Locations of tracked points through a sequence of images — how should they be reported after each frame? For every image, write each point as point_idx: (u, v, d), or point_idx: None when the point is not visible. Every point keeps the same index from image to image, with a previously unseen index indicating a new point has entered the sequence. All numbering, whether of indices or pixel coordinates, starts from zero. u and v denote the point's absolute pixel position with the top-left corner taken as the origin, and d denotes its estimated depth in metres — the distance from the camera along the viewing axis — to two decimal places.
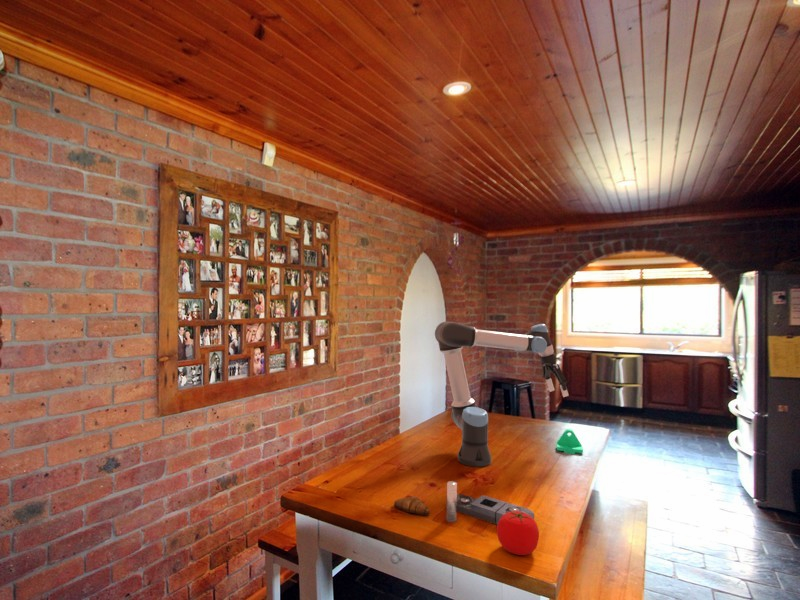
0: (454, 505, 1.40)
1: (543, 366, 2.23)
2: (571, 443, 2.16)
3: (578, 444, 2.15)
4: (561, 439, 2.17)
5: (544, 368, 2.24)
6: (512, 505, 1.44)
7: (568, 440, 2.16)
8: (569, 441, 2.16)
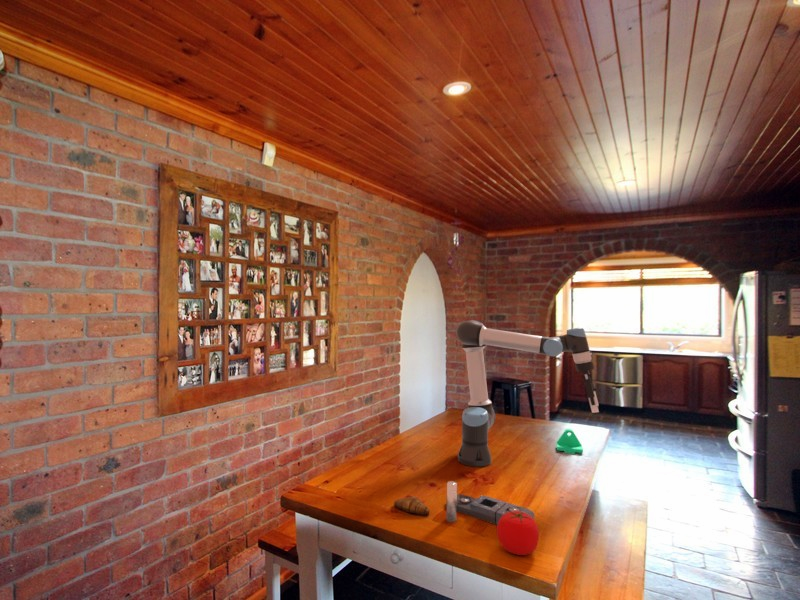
0: (454, 505, 1.40)
1: None
2: (571, 443, 2.16)
3: (578, 444, 2.15)
4: (561, 439, 2.18)
5: None
6: (512, 505, 1.44)
7: (568, 440, 2.17)
8: (568, 441, 2.17)
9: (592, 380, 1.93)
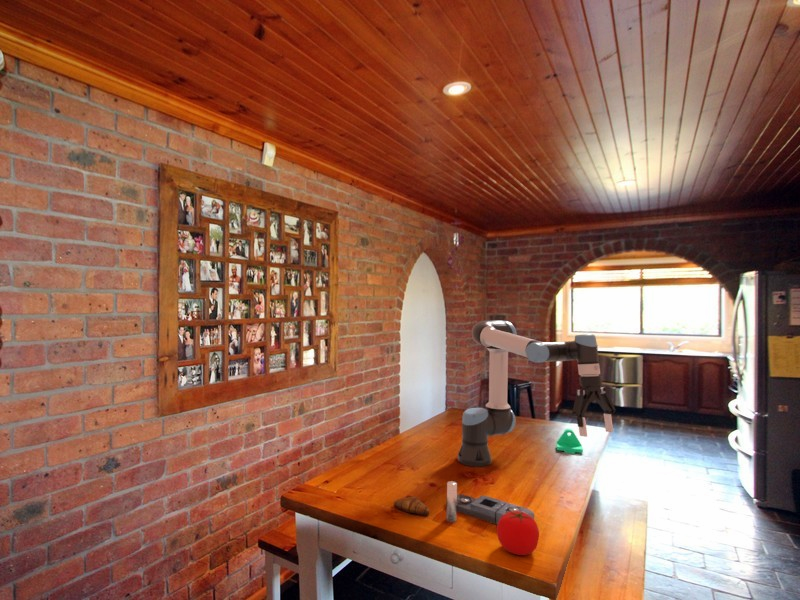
0: (454, 505, 1.40)
1: (600, 393, 1.63)
2: (571, 443, 2.16)
3: (578, 444, 2.15)
4: (561, 439, 2.18)
5: (603, 397, 1.63)
6: (512, 505, 1.44)
7: (568, 440, 2.17)
8: (568, 441, 2.17)
9: (601, 400, 1.59)
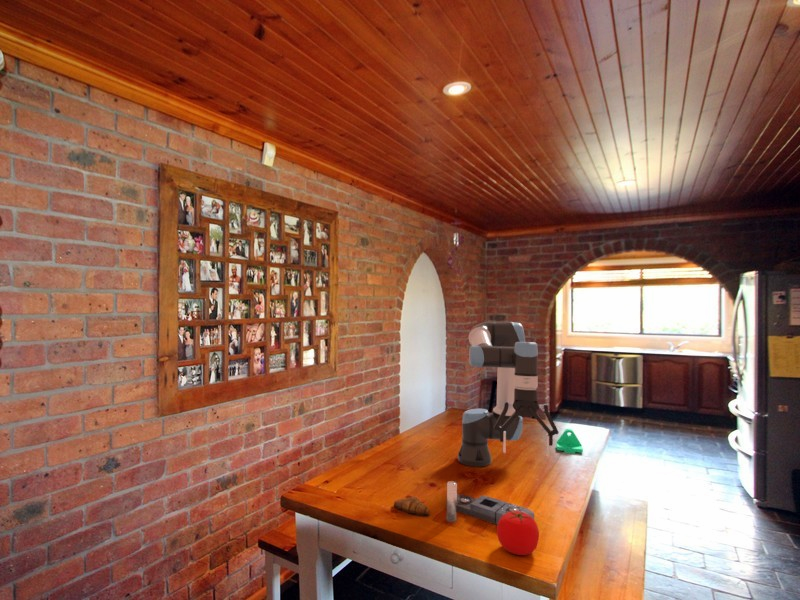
0: (454, 505, 1.40)
1: None
2: (571, 443, 2.17)
3: (578, 444, 2.16)
4: (561, 439, 2.18)
5: (546, 415, 1.41)
6: (512, 505, 1.44)
7: (568, 440, 2.17)
8: (568, 441, 2.17)
9: None
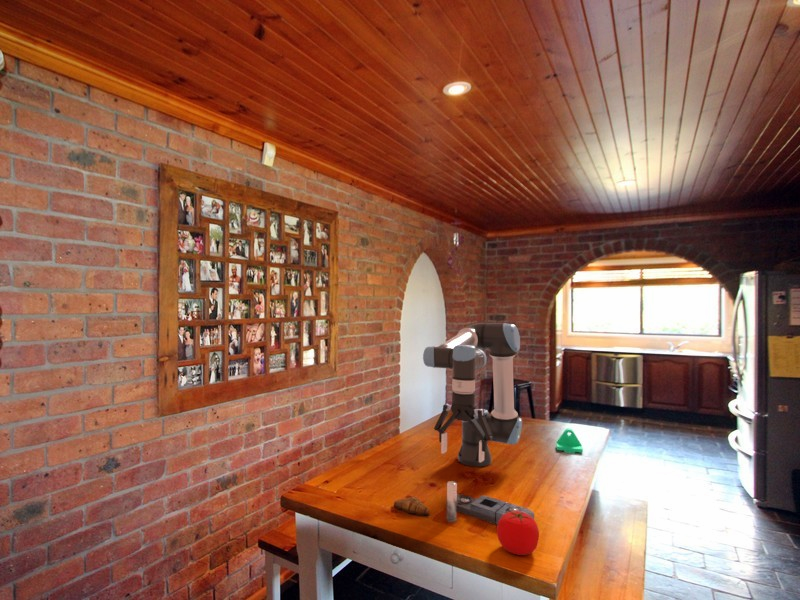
0: (454, 505, 1.40)
1: None
2: (571, 443, 2.17)
3: (578, 444, 2.16)
4: (561, 439, 2.18)
5: None
6: (512, 505, 1.44)
7: (568, 440, 2.17)
8: (568, 441, 2.17)
9: (468, 422, 1.39)
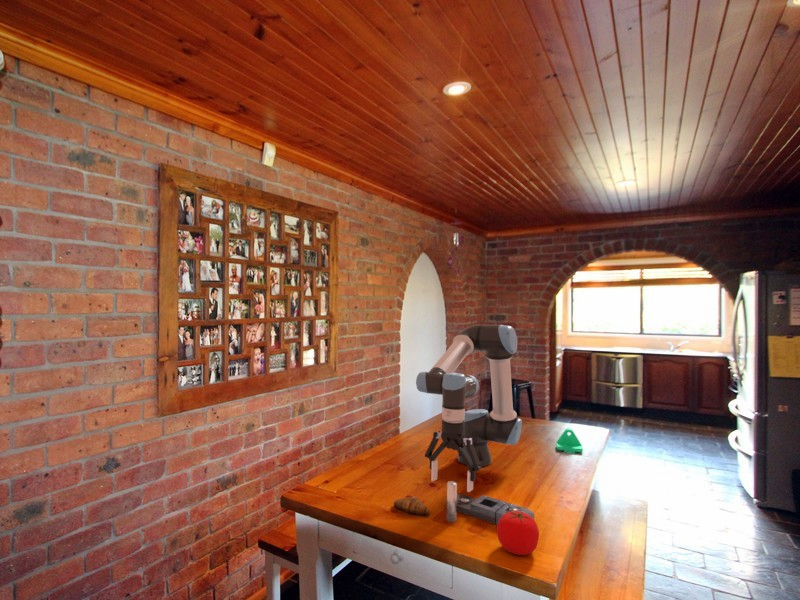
0: (454, 505, 1.40)
1: None
2: (571, 442, 2.17)
3: (578, 443, 2.16)
4: (561, 438, 2.18)
5: None
6: (512, 505, 1.44)
7: (568, 439, 2.17)
8: (568, 440, 2.17)
9: None
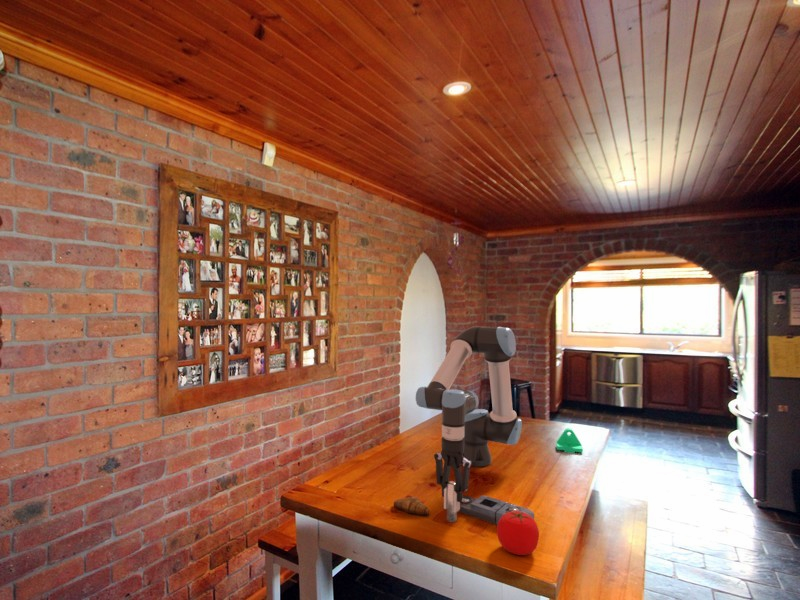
0: None
1: None
2: (571, 442, 2.17)
3: (578, 443, 2.16)
4: (561, 438, 2.19)
5: None
6: (512, 505, 1.44)
7: (568, 439, 2.18)
8: (568, 440, 2.18)
9: (453, 468, 1.40)
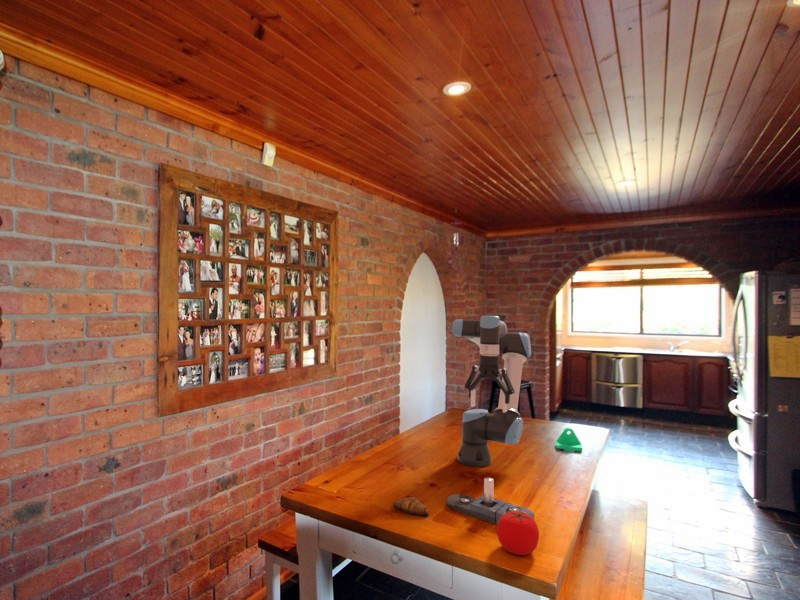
0: (491, 501, 1.44)
1: None
2: (571, 441, 2.19)
3: (577, 442, 2.18)
4: (561, 437, 2.20)
5: None
6: (512, 505, 1.44)
7: (568, 438, 2.19)
8: (568, 439, 2.19)
9: None
